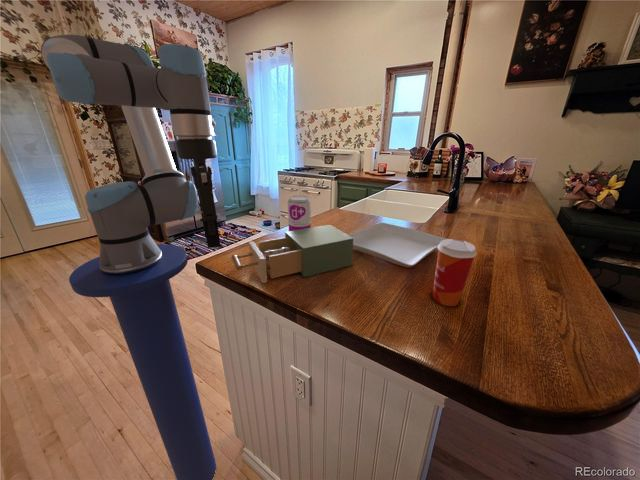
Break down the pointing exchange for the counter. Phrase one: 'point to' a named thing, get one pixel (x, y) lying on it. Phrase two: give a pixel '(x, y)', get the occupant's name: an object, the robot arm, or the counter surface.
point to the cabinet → (322, 248)
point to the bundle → (273, 252)
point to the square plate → (395, 243)
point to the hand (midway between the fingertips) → (212, 241)
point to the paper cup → (452, 270)
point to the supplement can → (299, 213)
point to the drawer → (272, 258)
